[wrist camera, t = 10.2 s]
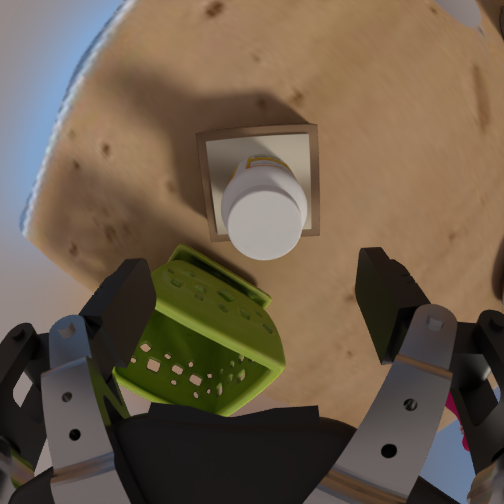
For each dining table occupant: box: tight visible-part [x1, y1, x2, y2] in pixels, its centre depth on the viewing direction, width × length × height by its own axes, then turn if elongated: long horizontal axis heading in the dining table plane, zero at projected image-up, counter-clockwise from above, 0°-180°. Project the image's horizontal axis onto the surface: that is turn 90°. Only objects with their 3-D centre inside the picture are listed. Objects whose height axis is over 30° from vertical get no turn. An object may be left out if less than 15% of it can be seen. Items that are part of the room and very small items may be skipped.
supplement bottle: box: [221, 154, 307, 260], centre depth 19 cm, size 5×5×10 cm
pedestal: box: [196, 123, 320, 242], centre depth 26 cm, size 10×10×4 cm
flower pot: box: [112, 243, 286, 417], centre depth 29 cm, size 14×14×13 cm
